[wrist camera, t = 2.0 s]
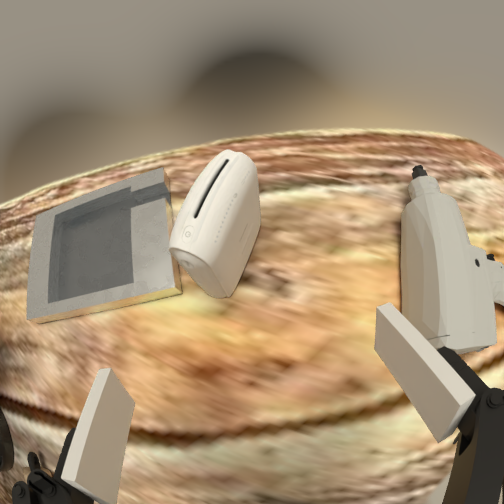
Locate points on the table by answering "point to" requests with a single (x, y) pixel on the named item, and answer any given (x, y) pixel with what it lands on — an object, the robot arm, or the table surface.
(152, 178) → the plate
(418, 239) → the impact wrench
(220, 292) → the photo printer
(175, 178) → the table surface
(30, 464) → the shock absorber
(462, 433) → the robot arm
